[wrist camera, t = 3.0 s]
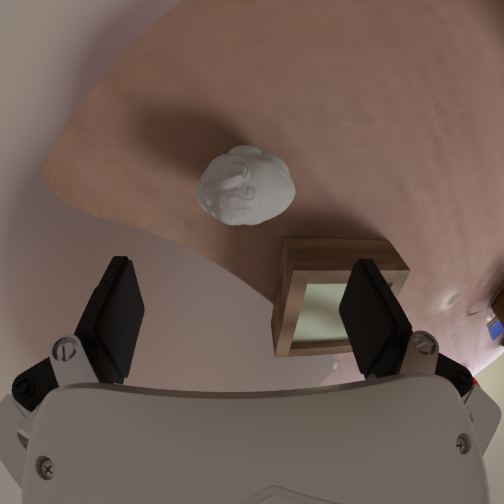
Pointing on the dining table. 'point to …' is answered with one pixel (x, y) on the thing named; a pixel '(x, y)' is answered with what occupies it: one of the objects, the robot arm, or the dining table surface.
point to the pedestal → (323, 291)
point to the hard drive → (495, 328)
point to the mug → (499, 308)
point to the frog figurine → (245, 186)
